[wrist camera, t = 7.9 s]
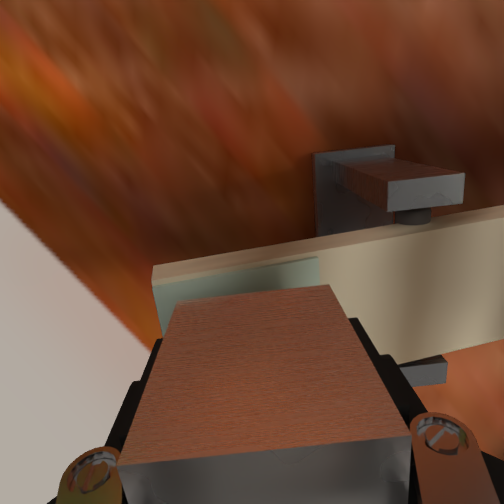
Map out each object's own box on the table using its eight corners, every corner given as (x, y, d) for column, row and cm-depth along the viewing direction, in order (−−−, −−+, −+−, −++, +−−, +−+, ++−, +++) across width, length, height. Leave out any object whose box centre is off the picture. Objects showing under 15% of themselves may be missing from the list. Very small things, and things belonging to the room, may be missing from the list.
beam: (603, 173, 18) (726, 184, 14) (575, 299, 20) (673, 339, 16) (151, 247, 14) (143, 291, 10) (182, 390, 16) (185, 470, 13)
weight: (177, 300, 12) (116, 465, 6) (329, 284, 12) (412, 434, 6) (201, 419, 13) (170, 634, 8) (333, 405, 13) (401, 612, 8)
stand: (388, 143, 23) (492, 156, 14) (385, 296, 27) (465, 389, 17) (311, 152, 23) (362, 171, 14) (319, 303, 27) (363, 400, 17)
